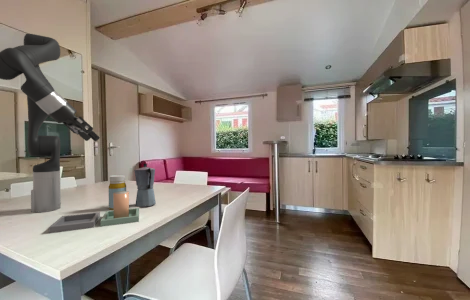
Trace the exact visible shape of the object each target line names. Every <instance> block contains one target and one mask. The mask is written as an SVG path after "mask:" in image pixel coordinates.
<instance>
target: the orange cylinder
mask: <svg viewBox="0 0 470 300" xmlns="http://www.w3.org/2000/svg"><path fill="white" fill-rule="evenodd" d="M129 202H130V192H129V191H127V190H126V191H119V192H115V193H113V210H112V211H113V215H114V218H122V217H129V209H130V206H129V205H130V203H129Z"/></svg>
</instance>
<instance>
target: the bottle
mask: <svg viewBox="0 0 470 300" xmlns="http://www.w3.org/2000/svg"><path fill="white" fill-rule="evenodd" d="M119 191H127V184H126V175H125V174H117V175H116V174H114V175H109V186H108V209H109V211H113V193H115V192H119Z"/></svg>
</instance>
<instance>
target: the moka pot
mask: <svg viewBox="0 0 470 300" xmlns="http://www.w3.org/2000/svg"><path fill="white" fill-rule="evenodd" d="M147 165H148V164H147V163H143V167H139V168H136V169H134V171H133V172H134V177H135V184H136V186H137V187H136V188H137V191H136V199H135V207H138V208H143V207H144V208H146V207H151V206H154V205H156V196H155V189H154V184H155V174H156V168H153V167H147Z"/></svg>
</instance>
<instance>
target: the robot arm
mask: <svg viewBox="0 0 470 300" xmlns="http://www.w3.org/2000/svg"><path fill="white" fill-rule="evenodd" d="M60 57H61V47H60V43H59V42H58V41H57V39H55V38H53V37H49V36H45V35H40V34H35V33H34V34H33V33H25V34H24V37H23V45H18V46H14V47H8V48H7V47H6V48H4V49H2V50H1V51H0V80H4V81H10V80H11V81H12V80H14V79H16V78H17V77H18V76H21V75H22V74H23V75H24V77H25V78H24V79H25V81H24V82H23V83H22V84H21V86H20V90H21V91H22V92H23V94H24V95H26V102H27V115H28V121H27V122H28V125H27V126H28V128H27V152H28V154H29V156H31V157H50V159H48V160H46V161H44V162H41V163H39V164H37V163H36V164H35V165H33V166H32V189H31V190H30V208H31V209H30V212H31V213H44V212H52V211H56V210H60V208H61V207H62V205H61V203H62V201H61V200H62V199H61V197H62V196H61V162H60V161H61V138H60V137H59V136H57V135H38V134H39V130H40V128H41V126H42V125H43V123H44V122H45V121H46V119H47V118H48V117H50V118H52V119H53V120H54V121H55V122H56V123H58V124H63V125H64V126H66V128H67V129H68V130H70V131H71V132H72V133H73V134H76V135H79V136H80V137H81V138H82V139H83V140H84V141H86V142H88V141H90V140H91V139H92V140H93V141H94V142H97V141H98V140H99V139H100V136H99V135H98V134H97V133H96V132H95V131H94V127H92V125H90V124H89V123H88V122H87V121H86V120H85V119H84V118H83V117H82V116H79V117H78V116H76V114H77V109H75V107H74V106H73V105H71V103H69V101H67V100H66V99H65V98H64V97H63V96H62V95H61V94H60V93H58V92H57V91H55V88H54V86H53V85H52V83H50V81H49V80H48V78H47V77H46V76H45V75H44V74H43V72H42V70H41V67H40V65H39V64H43V63H46V62H52V61H57V60H59V59H60Z"/></svg>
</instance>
